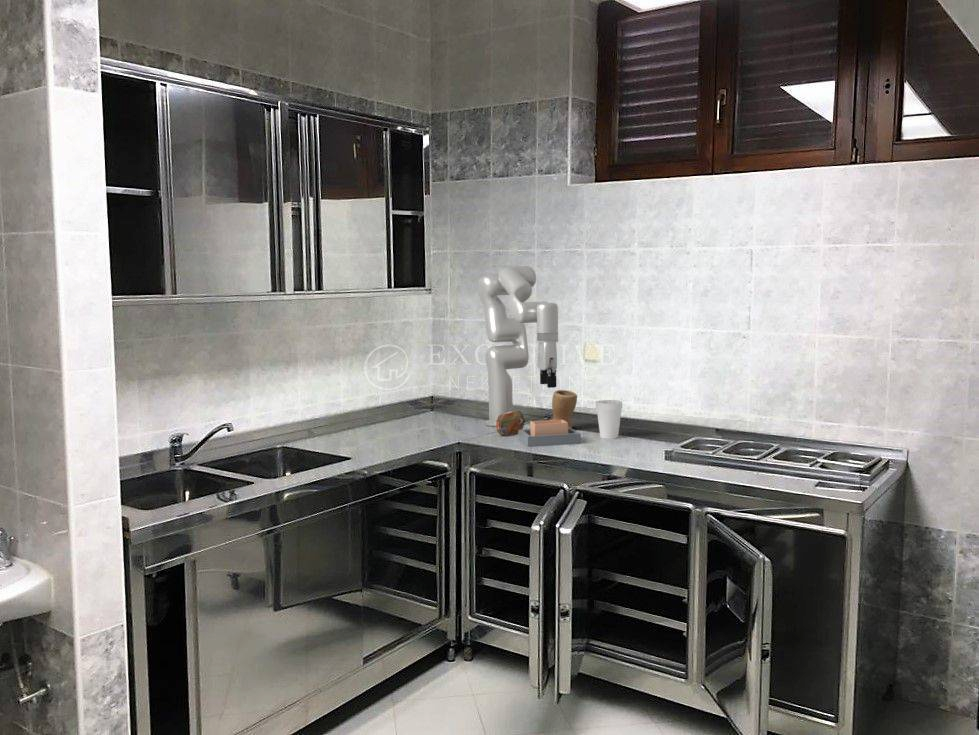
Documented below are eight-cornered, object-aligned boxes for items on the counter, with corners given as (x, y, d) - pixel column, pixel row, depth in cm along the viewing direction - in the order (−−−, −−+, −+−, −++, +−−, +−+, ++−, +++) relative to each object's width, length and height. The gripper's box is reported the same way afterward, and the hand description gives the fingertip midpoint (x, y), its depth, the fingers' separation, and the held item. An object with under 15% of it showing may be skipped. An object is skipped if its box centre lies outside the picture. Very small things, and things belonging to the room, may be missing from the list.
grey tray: (518, 439, 316) (518, 429, 315) (569, 436, 319) (569, 426, 319) (527, 446, 302) (527, 436, 301) (580, 443, 305) (580, 433, 305)
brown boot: (575, 432, 327) (575, 393, 325) (544, 432, 329) (543, 392, 328) (580, 425, 341) (579, 387, 340) (550, 425, 344) (549, 387, 342)
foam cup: (592, 438, 314) (592, 403, 313) (601, 434, 322) (601, 399, 321) (617, 440, 310) (617, 404, 308) (625, 435, 318) (625, 400, 316)
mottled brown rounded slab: (501, 437, 320) (501, 415, 319) (495, 436, 322) (494, 414, 321) (525, 431, 332) (524, 409, 331) (518, 430, 334) (518, 408, 333)
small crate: (530, 437, 312) (530, 421, 312) (562, 435, 315) (562, 419, 314) (535, 441, 306) (534, 424, 305) (567, 439, 309) (567, 422, 308)
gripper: (531, 336, 314) (532, 383, 316) (543, 340, 297) (544, 389, 299) (551, 335, 316) (551, 382, 318) (564, 339, 299) (565, 388, 301)
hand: (548, 385), depth 308 cm, fingers open, 9 cm apart
